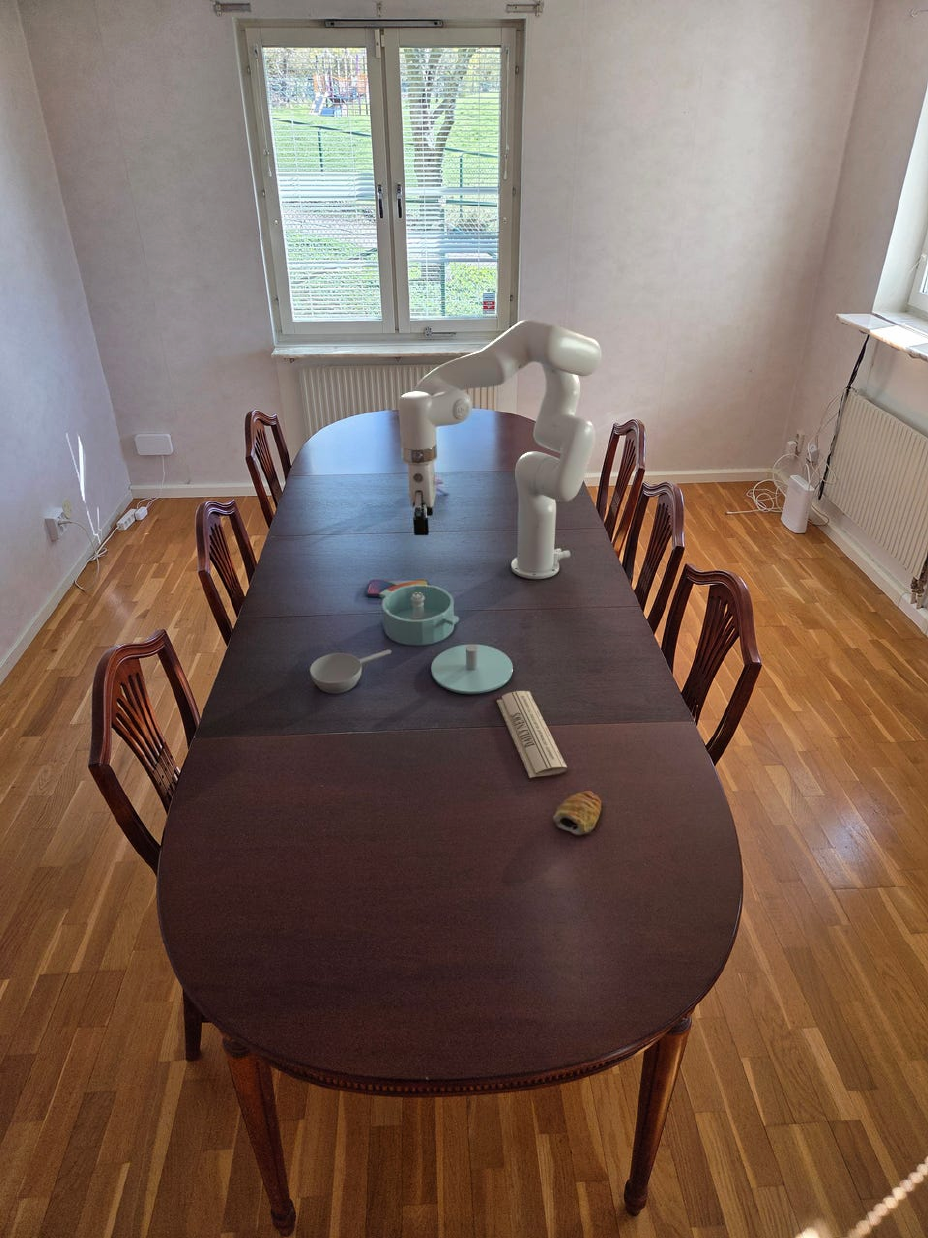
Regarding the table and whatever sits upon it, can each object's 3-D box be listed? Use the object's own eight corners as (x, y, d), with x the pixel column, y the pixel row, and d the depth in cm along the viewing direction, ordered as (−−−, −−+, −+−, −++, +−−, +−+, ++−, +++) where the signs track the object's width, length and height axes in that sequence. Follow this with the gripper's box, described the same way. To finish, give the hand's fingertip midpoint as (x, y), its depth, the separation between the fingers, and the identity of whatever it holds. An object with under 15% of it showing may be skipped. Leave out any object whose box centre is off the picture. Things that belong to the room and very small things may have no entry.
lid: (463, 640, 187) (463, 617, 184) (528, 666, 178) (529, 642, 175) (414, 677, 175) (413, 653, 172) (481, 706, 166) (481, 682, 163)
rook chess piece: (417, 617, 195) (415, 588, 191) (432, 622, 193) (431, 593, 189) (405, 625, 192) (404, 596, 188) (420, 631, 190) (419, 601, 186)
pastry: (576, 792, 145) (577, 776, 143) (610, 808, 142) (612, 792, 140) (549, 825, 138) (551, 809, 136) (585, 842, 135) (587, 826, 133)
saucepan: (305, 674, 176) (303, 660, 174) (382, 652, 183) (381, 638, 181) (321, 701, 168) (319, 686, 166) (401, 677, 175) (400, 662, 173)
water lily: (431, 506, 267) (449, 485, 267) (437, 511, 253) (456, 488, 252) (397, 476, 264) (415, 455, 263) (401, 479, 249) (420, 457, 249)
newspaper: (567, 772, 149) (567, 764, 148) (530, 778, 148) (530, 771, 147) (529, 696, 169) (529, 689, 168) (496, 701, 168) (496, 694, 167)
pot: (406, 597, 204) (404, 575, 200) (477, 625, 193) (477, 601, 189) (360, 626, 193) (358, 603, 189) (433, 657, 181) (432, 633, 178)
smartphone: (371, 582, 211) (371, 579, 210) (429, 583, 209) (428, 579, 209) (365, 597, 205) (365, 593, 204) (425, 598, 203) (425, 594, 203)
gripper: (433, 467, 167) (437, 542, 176) (440, 437, 181) (443, 508, 191) (396, 467, 167) (402, 542, 176) (406, 437, 182) (411, 508, 191)
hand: (423, 524), depth 183 cm, fingers open, 9 cm apart
